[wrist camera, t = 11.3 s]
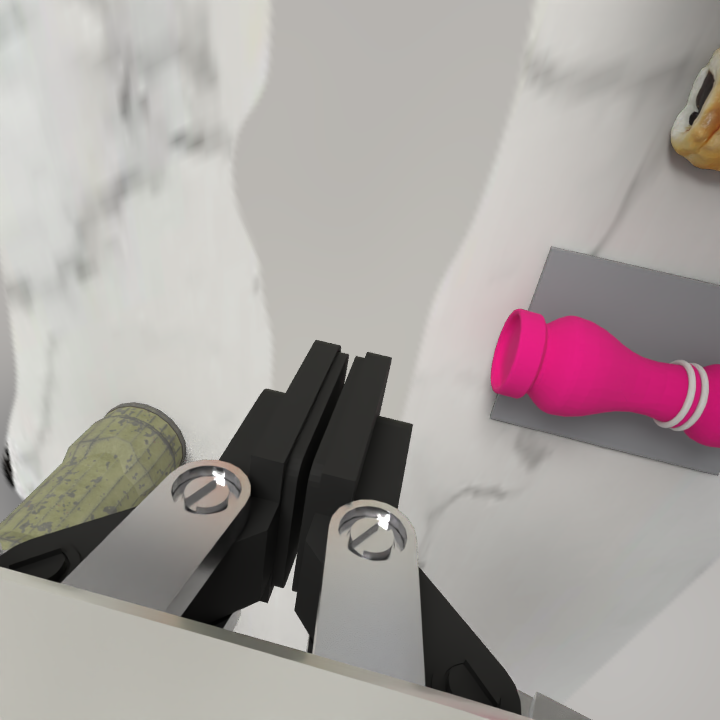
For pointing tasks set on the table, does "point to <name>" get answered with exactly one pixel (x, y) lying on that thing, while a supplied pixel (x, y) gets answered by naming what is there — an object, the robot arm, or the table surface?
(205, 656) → the robot arm
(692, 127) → the pastry
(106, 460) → the thermos
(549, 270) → the mat
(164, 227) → the table surface
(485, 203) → the table surface
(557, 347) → the pepper mill
